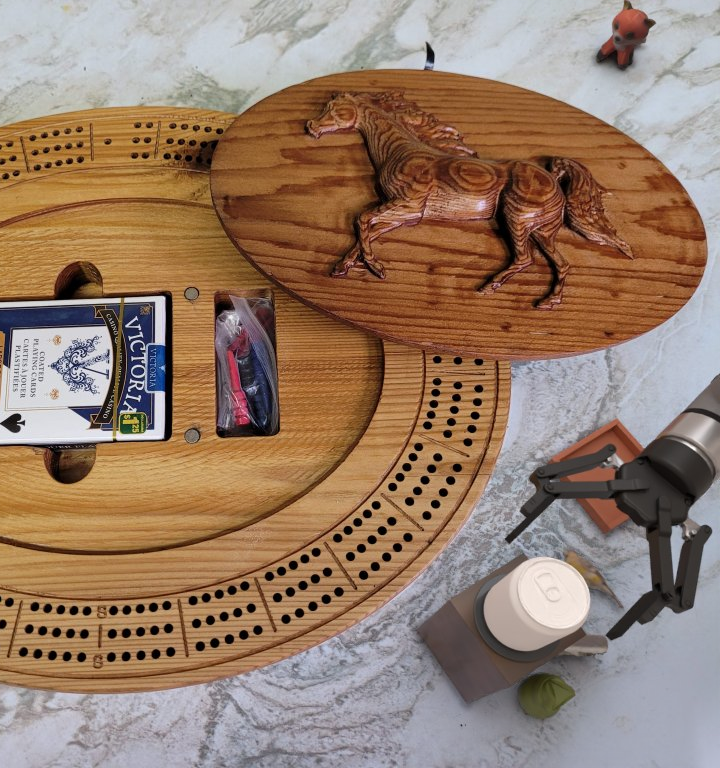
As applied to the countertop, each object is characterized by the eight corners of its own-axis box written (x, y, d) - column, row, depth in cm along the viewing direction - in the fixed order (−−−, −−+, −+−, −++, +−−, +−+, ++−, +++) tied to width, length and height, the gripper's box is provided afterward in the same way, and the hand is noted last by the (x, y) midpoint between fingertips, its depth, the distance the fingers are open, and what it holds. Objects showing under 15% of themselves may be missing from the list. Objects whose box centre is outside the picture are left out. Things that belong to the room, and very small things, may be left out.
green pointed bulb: (535, 669, 111) (561, 658, 102) (563, 704, 109) (592, 696, 100) (503, 692, 110) (527, 684, 101) (531, 729, 107) (557, 723, 98)
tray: (670, 491, 121) (678, 486, 119) (604, 534, 118) (610, 529, 116) (610, 423, 126) (617, 417, 124) (546, 463, 123) (551, 458, 121)
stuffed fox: (654, 52, 160) (684, -2, 149) (619, 81, 157) (647, 29, 146) (622, 32, 162) (649, -22, 152) (586, 61, 159) (611, 8, 149)
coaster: (580, 633, 93) (582, 632, 93) (511, 679, 92) (512, 679, 91) (523, 558, 97) (524, 556, 97) (455, 601, 95) (456, 600, 95)
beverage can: (505, 663, 92) (540, 646, 81) (468, 595, 95) (498, 570, 84) (568, 635, 93) (611, 615, 82) (530, 569, 96) (566, 541, 85)
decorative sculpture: (560, 549, 118) (578, 535, 111) (628, 579, 116) (651, 566, 109) (526, 654, 112) (544, 646, 105) (598, 688, 109) (621, 681, 103)
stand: (531, 659, 111) (587, 634, 93) (466, 703, 109) (510, 686, 91) (480, 589, 116) (523, 552, 98) (416, 629, 114) (449, 599, 96)
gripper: (761, 552, 92) (643, 684, 86) (580, 400, 100) (462, 510, 95) (803, 534, 85) (677, 675, 79) (604, 372, 94) (479, 489, 88)
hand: (560, 585), depth 87 cm, fingers open, 13 cm apart
